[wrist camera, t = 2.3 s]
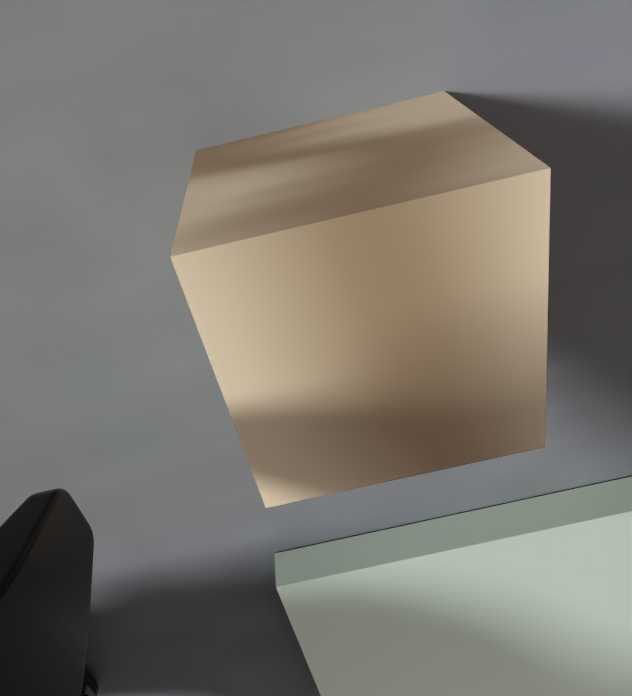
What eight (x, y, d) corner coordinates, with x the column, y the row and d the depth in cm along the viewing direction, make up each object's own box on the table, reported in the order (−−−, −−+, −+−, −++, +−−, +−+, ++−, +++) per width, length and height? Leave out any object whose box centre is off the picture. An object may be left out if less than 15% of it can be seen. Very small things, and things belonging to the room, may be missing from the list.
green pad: (349, 744, 27) (353, 775, 26) (274, 553, 19) (276, 587, 18) (660, 680, 26) (677, 709, 25) (716, 458, 18) (743, 487, 17)
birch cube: (260, 350, 15) (265, 507, 11) (196, 149, 12) (170, 256, 8) (459, 305, 15) (545, 446, 10) (442, 90, 12) (550, 168, 8)
